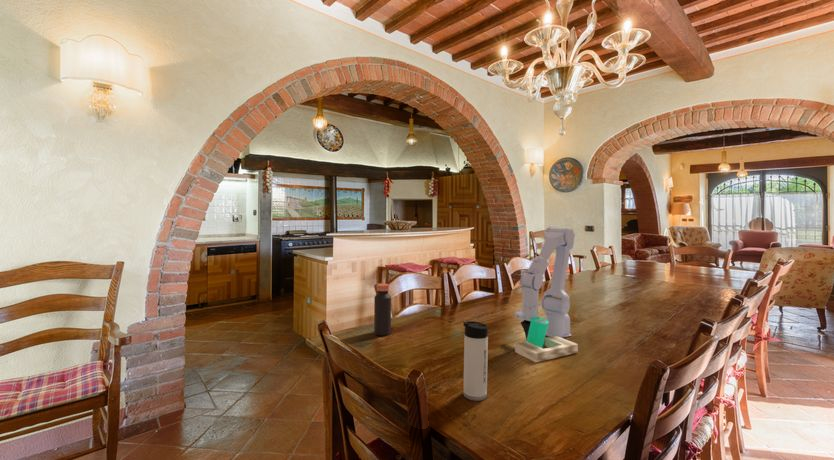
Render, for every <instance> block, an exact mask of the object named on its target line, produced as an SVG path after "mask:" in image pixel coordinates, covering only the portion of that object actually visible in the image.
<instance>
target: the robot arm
mask: <svg viewBox="0 0 834 460" xmlns="http://www.w3.org/2000/svg"><path fill="white" fill-rule="evenodd" d="M543 236H544V242H543V245H542V247H541V250H540V252H539V254H538V256H535V257H534V258H533V259H532V261H531V264H530V265H529V267H528V269H527V271H526V272H525V273H522V275H521V276H520V279H519V285H520V288H521V289H520V290H521V292H522V305H521V311H515V312H514V318H519V319H520V320H522V321H520V325H521V327H522V329H523V331H524V334H525V340H527V336H528V331H529V327H530V323H531V318H532V317H534V318H537V317H539V299H540V298H539V294H540V289H541V288H542V286H543V281H544V275H545V272H546V270H547V268H548V267H549V262H548V260H549V258H550V256H551V255H552V254H553V252H554V250H555V257H554V263H553V270H552V278H551V283H550V288H548V289H547V290H545V291H544V293H543V297H542V298H541V302H540V305H541V306H540V307H541V309H543V312H544V313H545V319H546V320H547V321H548V322H549V323H548V327H547V332H546V336H547V337H551V336H558V337H561V338H563V339H564V338H567V337H572V336H573V335H572V334H571V318H570V316H569V314H568V313H569V311H570V308H571V304H570V300H571V297H570V296H569V295H568V293H567V292H566V291H565V286H566V280H567V278H566V277H567V273H568V266H569V259H570V253H571V250H572V249H573V248H574V243H575V236H576V235H575V233H574V229H573V228H572V227H570V226H569V227H557V226H556V227H555V226H548V227H547V228H546V229H545V232H544V235H543ZM541 320H542V319H541ZM541 320H538V319H537V320H535V321H538V322H541V323H546V321H544V320H542V321H541ZM546 336H545V337H546Z"/></svg>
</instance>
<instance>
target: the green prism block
mask: <svg viewBox="0 0 834 460" xmlns="http://www.w3.org/2000/svg"><path fill="white" fill-rule="evenodd" d="M537 319H538V320H541V319H542V320H544V321H546V323H541V322H538V321H535V320H537ZM542 320H541V321H542ZM548 323H549V322H548V321H547V320H546V317H545V318H544V317H542V316H538V317H537V318H534V317H532V318H531V323H530V327H529V331H528V336H527V340H526V339H525V340H526V341H527V342H530V343H532V344H534V345H536V346H538V347H540V348H543V349H544V345H545V338H546V332H547V327H548ZM526 341H525V342H526Z"/></svg>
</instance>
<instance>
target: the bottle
mask: <svg viewBox="0 0 834 460" xmlns="http://www.w3.org/2000/svg"><path fill="white" fill-rule="evenodd" d="M389 290H390V285H389V284H388V283H377V284H376V295H375V296H374V299H373V300H374V307H373V308H374V312H373V313H374V315H373V317H374V320H373V321H374V322H373V323H374V324H373V325H374V327H373V329H374V330H373V331H374V332H373V333H374V335H376V336H378V337H379V336H380V337H382V336H384V337H385V336H389V335H390V334H391V332H392V327H391V326H392V296H391V295H390V293H389Z"/></svg>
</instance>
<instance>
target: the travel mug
mask: <svg viewBox="0 0 834 460" xmlns="http://www.w3.org/2000/svg"><path fill="white" fill-rule="evenodd" d="M462 325H463V327H464V334H463V335H464V336H463V337H464V339H463V340H464V341H463V342H464V343H463V344H464V345H463V347H464V349H463V396H464V397H465V398H466V399H468V400H470V401H475V402H477V401H478V402H479V401H483V400H485V399H487V396H488V393H487V392H488V355H489V354H488V353H489V351H488V350H489V347H488V346H489V345H488V344H489V333H488V332H489V327H488V326H487V325H486V324H484V323H482V322H478V321H472V320H468V321H463V324H462Z"/></svg>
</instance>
